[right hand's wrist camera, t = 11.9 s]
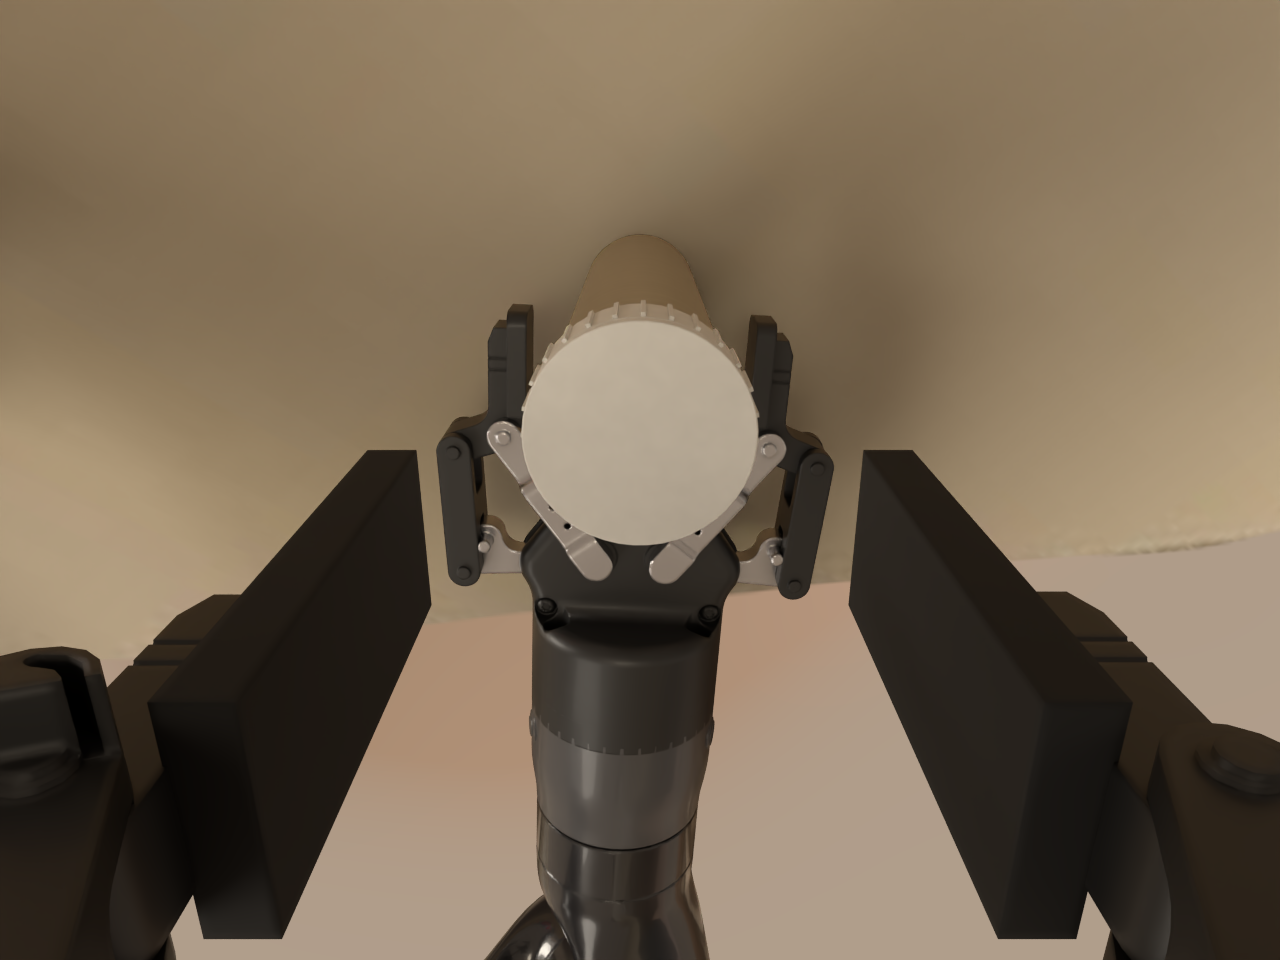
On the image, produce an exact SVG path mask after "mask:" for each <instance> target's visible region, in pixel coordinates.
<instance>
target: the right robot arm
mask: <svg viewBox="0 0 1280 960" xmlns="http://www.w3.org/2000/svg"><path fill="white" fill-rule="evenodd" d="M430 607H431V595H430V585H429V575H428V564H427V554H426V544H425V533H424V523H423V513H422V502H421V492H420V482H419V471H418V461H417V451H416V450H367V451H366V453H365V454H364V455H363V456H362V457H361V458H360V459H359V461H358V462H357V463H356V464H355V465H354V466H353V467H352V469H351V470H350V471H349V472H348V473H347V474H346V475H345V477H344V478H343V479H342V480H341V481H340V482H339V483H338V485H337V486H336V487H335V488H334V489H333V490H332V491H331V493H330V494H329V495H328V496H327V497H326V498H325V499H324V501H323V502H322V503H321V504H320V505H319V506H318V507H317V509H316V510H315V511H314V512H313V513H312V514H311V515H310V517H309V518H308V519H307V520H306V521H305V522H304V523H303V525H302V526H301V527H300V528H299V529H298V530H297V531H296V533H295V534H294V535H293V536H292V537H291V538H290V539H289V541H288V542H287V543H286V544H285V545H284V546H283V547H282V549H281V550H280V551H279V552H278V553H277V554H276V555H275V557H274V558H273V559H272V560H271V561H270V562H269V563H268V565H267V566H266V567H265V568H264V569H263V570H262V571H261V573H260V574H259V575H258V576H257V577H256V578H255V579H254V581H253V582H252V583H251V584H250V585H249V586H248V587H247V589H246V590H245V591H244V592H243V593H242V594H241V595H212V596H211V597H209V598H207V599H205V600H204V601H202V602H200V603H198V604H197V605H195V606H193V607H191V608H190V609H188V610H186V611H184V612H182V613H181V614H179V615H177V616H176V617H175V618H174V619H173V620H172V621H171V622H170V623H169V624H168V625H167V626H166V628H165V629H164V630H163V631H162V632H161V633H160V634H159V635H158V636H157V637H156V638H155V639H154V640H153V641H154V643H153V645H148V646H147V647H146V648H145V649H144V650H143V651H142V652H141V653H140V654H139V655H138V656H137V657H136V658H135V659H134V664H133V666H128V667H127V668H126V669H125V670H124V671H123V672H122V673H121V674H120V675H119V676H118V677H117V678H116V679H115V680H114V681H113V682H112V683H111V684H110V685H109V686H108V687H107V686H106V682H105V678H104V674H103V670H102V666H101V663H100V659H98V658H97V657H95V656H94V655H93V654H91V653H90V652H88V651H87V650H82V649H76V648H69V647H62V646H61V647H48V648H36V649H28V650H24V651H20V652H16V653H11V654H7V655H3V656H0V960H176V955H175V950H174V946H173V942H172V938H171V934H170V932H171V931H172V929H173V927H174V926H175V924H176V922H177V920H178V919H179V917H180V915H181V914H182V912H183V910H184V909H185V907H186V905H187V904H188V902H189V900H190V899H191V897H192V895H193V896H194V900H195V905H196V909H197V913H198V917H199V921H200V925H201V929H202V934H203V938H204V939H282V938H283V935H284V933H285V931H286V929H287V926H288V924H289V922H290V920H291V917H292V915H293V913H294V911H295V909H296V906H297V904H298V902H299V900H300V897H301V895H302V893H303V891H304V888H305V886H306V884H307V882H308V880H309V877H310V875H311V873H312V871H313V868H314V866H315V864H316V862H317V859H318V857H319V855H320V853H321V850H322V848H323V846H324V844H325V841H326V839H327V837H328V835H329V833H330V830H331V828H332V826H333V824H334V821H335V819H336V817H337V815H338V813H339V810H340V808H341V806H342V804H343V801H344V799H345V797H346V795H347V792H348V790H349V788H350V786H351V784H352V781H353V779H354V777H355V775H356V772H357V770H358V768H359V766H360V763H361V761H362V759H363V757H364V754H365V752H366V750H367V748H368V745H369V743H370V741H371V739H372V737H373V734H374V732H375V730H376V728H377V725H378V723H379V721H380V719H381V717H382V714H383V712H384V710H385V707H386V705H387V703H388V701H389V699H390V696H391V694H392V692H393V690H394V687H395V685H396V683H397V681H398V679H399V676H400V674H401V672H402V670H403V667H404V665H405V663H406V661H407V658H408V656H409V654H410V652H411V649H412V647H413V645H414V643H415V640H416V638H417V636H418V634H419V632H420V629H421V627H422V625H423V623H424V620H425V618H426V616H427V614H428V612H429V609H430ZM849 607H850V609H851V612H852V614H853V616H854V618H855V620H856V623H857V625H858V627H859V629H860V632H861V634H862V636H863V638H864V641H865V643H866V645H867V647H868V649H869V652H870V654H871V656H872V658H873V661H874V663H875V665H876V667H877V670H878V672H879V674H880V676H881V679H882V681H883V683H884V685H885V687H886V690H887V692H888V694H889V696H890V699H891V701H892V703H893V705H894V707H895V710H896V712H897V714H898V716H899V719H900V721H901V723H902V725H903V728H904V730H905V732H906V734H907V737H908V739H909V741H910V743H911V745H912V748H913V750H914V752H915V754H916V757H917V759H918V761H919V763H920V766H921V768H922V770H923V772H924V775H925V777H926V779H927V781H928V783H929V786H930V788H931V790H932V792H933V795H934V797H935V799H936V801H937V804H938V806H939V808H940V810H941V813H942V815H943V817H944V819H945V821H946V824H947V826H948V828H949V830H950V833H951V835H952V837H953V839H954V841H955V844H956V846H957V848H958V850H959V853H960V855H961V857H962V859H963V862H964V864H965V866H966V868H967V871H968V873H969V875H970V877H971V879H972V882H973V884H974V886H975V888H976V891H977V893H978V895H979V897H980V900H981V902H982V904H983V906H984V908H985V911H986V913H987V915H988V917H989V920H990V922H991V924H992V926H993V929H994V931H995V933H996V935H997V938H998V939H1076V938H1077V934H1078V930H1079V925H1080V921H1081V917H1082V913H1083V909H1084V904H1085V900H1086V896H1087V892H1089V894H1090V896H1091V897H1092V899H1093V901H1094V902H1095V904H1096V906H1097V907H1098V909H1099V911H1100V912H1101V914H1102V916H1103V917H1104V919H1105V921H1106V922H1107V924H1108V926H1109V928H1110V929H1111V930H1110V934H1109V938H1108V942H1107V946H1106V950H1105V954H1104V957H1103V960H1280V742H1277V741H1275V740H1273V739H1271V738H1269V737H1266V736H1264V735H1262V734H1259V733H1255V732H1252V731H1248V730H1245V729H1241V728H1238V727H1234V726H1230V725H1226V724H1214V723H1211V722H1210V721H1209V720H1208V719H1207V718H1206V717H1205V716H1204V715H1203V714H1202V713H1201V712H1200V711H1199V709H1198V708H1197V707H1196V706H1195V705H1194V704H1193V703H1192V702H1191V701H1190V700H1189V699H1188V698H1187V697H1186V696H1185V695H1184V694H1183V693H1182V692H1181V691H1180V690H1179V689H1178V688H1177V687H1176V686H1175V685H1174V684H1173V683H1172V682H1171V681H1170V680H1169V679H1168V678H1167V677H1166V676H1165V675H1164V674H1163V673H1162V672H1161V671H1160V670H1159V669H1158V668H1157V667H1156V666H1155V665H1154V664H1153V663H1152V662H1147V656H1146V655H1145V654H1144V653H1143V652H1142V651H1141V650H1140V649H1139V648H1138V647H1137V646H1136V645H1135V644H1134V643H1133V642H1128V641H1127V636H1126V635H1125V634H1124V633H1123V632H1122V631H1121V630H1120V629H1119V628H1118V627H1117V626H1116V625H1115V624H1114V623H1113V622H1112V621H1111V620H1110V619H1109V618H1108V617H1107V616H1106V615H1105V614H1104V613H1103V612H1102V611H1100V610H1098V609H1096V608H1095V607H1093V606H1091V605H1089V604H1088V603H1086V602H1084V601H1082V600H1080V599H1079V598H1077V597H1075V596H1073V595H1072V594H1070V593H1068V592H1036V591H1035V590H1034V589H1033V587H1032V586H1031V585H1030V584H1029V583H1028V582H1027V581H1026V579H1025V578H1024V577H1023V576H1022V575H1021V574H1020V573H1019V571H1018V570H1017V569H1016V568H1015V567H1014V566H1013V565H1012V563H1011V562H1010V561H1009V560H1008V559H1007V558H1006V557H1005V555H1004V554H1003V553H1002V552H1001V551H1000V550H999V549H998V547H997V546H996V545H995V544H994V543H993V542H992V541H991V539H990V538H989V537H988V536H987V535H986V534H985V533H984V531H983V530H982V529H981V528H980V527H979V526H978V525H977V523H976V522H975V521H974V520H973V519H972V518H971V517H970V515H969V514H968V513H967V512H966V511H965V510H964V509H963V507H962V506H961V505H960V504H959V503H958V502H957V501H956V499H955V498H954V497H953V496H952V495H951V494H950V493H949V491H948V490H947V489H946V488H945V487H944V486H943V485H942V483H941V482H940V481H939V480H938V479H937V478H936V477H935V475H934V474H933V473H932V472H931V471H930V470H929V469H928V467H927V466H926V465H925V464H924V463H923V462H922V461H921V459H920V458H919V457H918V456H917V455H916V454H915V453H914V451H913V450H864V451H863V461H862V471H861V482H860V492H859V502H858V513H857V523H856V533H855V544H854V554H853V564H852V575H851V585H850V596H849Z"/></svg>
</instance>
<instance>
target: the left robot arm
mask: <svg viewBox="0 0 1280 960" xmlns="http://www.w3.org/2000/svg"><path fill="white" fill-rule="evenodd" d="M533 320H534V313H533V305H523V304H513V305H512V306H511V308H510V309H509V310H508V313H507V320H499V321H498V322H497V324H496V325H495V326H494V328H493V330H492V332H491V335H490V337H489V340H488V405H489V406H488V410H487V411H486V412H484V413H482V414H480V415H476V416H473V417H470V418H469V417H459V418H457V419H455V420H454V421H453V422H452V424H451V425H450V427H449V428H448V430H447V431H446V433H445V435H444V436H443V438H442V439H441V441H440V442H439V444H438V446H437V450H436V453H437V463H438V473H439V483H440V494H441V504H442V514H443V524H444V534H445V544H446V555H447V565H448V574H449V577H450V578H451V580H452V581H453V582H454V583H456V584H458V585H461V586H470V585H473V584H474V583H476V582H477V581H478V579H479V577H480V574H481V573H522V574H523V576H524V578H525V579H526V581H527V582H528V584H529V586H530V589H531V592H532V597H533V644H532V709H531V713H530V716H529V728H530V734H531V736H532V757H533V765H534V771H535V776H536V783H537V867H538V875H539V880H540V885H541V888H542V890H543V893H544V895H542V896H541V897H539V898H538V899H537V900H536V901H535V902H534V903H533V904H531V905H530V906H529V907H528V908H527V909H526V910H525V911H524V912H523V913H522V914H521V916H520V917H519V918H518V919H517V920H516V921H515V922H514V924H513V925H512V926H511V927H510V929H509V930H508V931H507V932H506V933H505V935H504V936H503V937H502V938H501V940H500V941H499V942H498V943H497V945H496V946H495V947H494V948H493V950H492V951H491V952H490V953H489V955H488V956H487V957H486V958H485V960H710V959H709V953H708V947H707V942H706V936H705V931H704V925H703V920H702V914H701V909H700V904H699V900H698V896H697V892H696V889H695V885H694V881H693V877H692V871H691V867H692V860H693V849H694V839H695V829H696V818H697V808H698V800H699V793H700V789H701V786H702V782H703V779H704V775H705V771H706V766H707V762H708V755H709V747H710V745H711V742H712V738H713V732H714V720H713V717H712V716H713V705H714V695H715V684H716V674H717V664H718V654H719V643H720V633H721V623H722V612H723V606H724V602H725V600H726V598H727V596H728V594H729V592H730V591H731V590H732V588H733V587H734V586H735V584H736V583H737V582H739V583H749V584H759V585H769V586H777V587H778V589H779V592H780V593H781V595H782V596H784V597H785V598H787V599H792V600H793V599H799V598H801V597H803V596H804V595H806V594H807V592H808V590H809V588H810V583H811V578H812V574H813V569H814V564H815V559H816V554H817V549H818V544H819V539H820V534H821V530H822V525H823V520H824V515H825V510H826V505H827V500H828V495H829V490H830V486H831V481H832V476H833V471H834V464H833V461H832V459H831V458H830V456H829V455H828V454H827V453H826V452H825V450H824V449H823V446H822V443H821V442H820V440H819V438H818V437H817V436H816V435H814V434H813V433H809V432H803V433H802V432H799V431H797V430H795V429H792V428H790V427H788V426H787V425H786V413H787V404H788V395H789V387H790V378H791V369H792V361H793V354H792V350H791V347H790V343H789V341H788V339H787V338H786V337H785V335H784V334H783V333H777V324H776V322H775V321H774V319H773V318H772V317H771V316H760V315H751V318H750V323H749V332H748V343H747V353H746V364H745V372H746V374H747V376H748V378H749V380H750V383H751V385H752V387H753V390H754V391H753V392H750V393H751V395H752V398H753V400H754V403H755V405H756V407H757V410H758V412H759V417H758V418H757V419H758V438H759V442H758V447H757V452H756V458H755V461H754V464H753V467H752V471H751V473H750V475H749V478H748V480H747V482H746V484H745V486H744V487H743V489H742V490H741V492H740V494H739V495H738V497H737V498H736V499H735V500H734V502H733V503H732V504H731V505H730V506H729V507H728V509H727V510H726V511H724V512H723V513H722V514H721V515H720V516H719V517H718V518H717V519H715V520H714V521H713V522H711V523H710V524H708V525H707V526H705V527H704V528H702V529H700V530H698V531H697V532H695V533H693V534H691V535H688V536H686V537H683V538H680V539H678V540H674V541H670V542H666V543H661V544H653V545H627V544H618V543H614V542H610V541H606V540H602V539H600V538H597V537H594V536H592V535H589V534H587V533H585V532H584V531H582V530H580V529H578V528H576V527H575V526H573V525H572V524H570V523H569V522H567V521H566V520H565V519H563V518H562V517H561V516H560V515H559V514H558V513H557V512H555V511H554V510H553V508H552V507H551V506H550V505H549V504H548V503H547V502H546V501H545V499H544V498H543V496H542V495H541V493H540V492H539V491H538V489H537V488H536V486H535V484H534V482H533V480H532V478H531V476H530V473H529V470H528V467H527V464H526V462H525V457H524V452H523V447H522V437H521V431H522V419H523V413H524V411H522V406H523V403H524V401H525V399H526V396H527V394H528V392H529V390H530V389H531V387H532V386H530V385H529V382H530V380H531V378H532V375H533ZM494 453H496V455H497V456H498V457H499V459H500V460H501V461H502V462H503V464H504V465H505V466H506V467H507V469H508V470H509V471H510V472H511V474H512V475H513V476H514V478H515V479H516V480H517V482H518V484H519V486H520V490H521V492H522V494H523V496H524V497H525V499H526V500H527V501H528V503H529V504H530V505H531V506H532V508H533V509H534V510H535V511H536V513H537V514H538V515H539V517H540V518H541V519H540V520H539V521H538V522H537V524H536V525H535V526H534V527H533V528H532V530H531V531H530V532H529V533H528V535H527V536H526V538H525V540H524V542H519V541H516V540H514V539H512V538H511V537H510V536H509V535H508V533H507V531H506V528H505V524H504V523H503V521H502V520H501V519H500V518H498V517H496V516H493V515H488V512H487V500H486V487H485V474H484V461H483V457H484V456H487V455H490V454H494ZM776 466H778V467H780V468H783V469H785V474H784V480H783V485H782V491H781V496H780V502H779V507H778V512H777V518H776V523H775V528H768V529H765V530H763V531H762V532H761V533H760V534H759V535H758V536H757V539H756V542H755V544H754V545H753V546H752V547H751V548H750V549H748V550H746V551H737V549H736V547H735V545H734V543H733V541H732V540H731V538H730V537H729V535H728V534H727V532H726V531H725V529H724V527H725V526H726V525H727V524H728V523H729V522H730V521H731V520H732V519H733V518H734V516H735V515H736V514H737V513H738V512H739V511H740V510H741V509H742V508H743V507H744V505H745V504H746V502H747V500H748V498H749V495H750V493H751V492H752V491H753V490H754V489H755V488H756V487H757V485H758V484H759V483H760V482H761V481H762V480H763V479H764V478H765V477H766V476H767V475H768V474H769V473H770V472H771V471H772V470H773V469H774V468H775V467H776Z"/></svg>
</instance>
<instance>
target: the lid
mask: <svg viewBox="0 0 1280 960" xmlns="http://www.w3.org/2000/svg"><path fill="white" fill-rule="evenodd" d="M542 361H543V363H542V365H541V366H540V365H537V367H536V369H535V371H534V373H533V375H532V378H531V380H530V382H529V385H530V386H532V387H531V389H530V390H529V392H528V394H527V396H526V399H525V401H524V403H523V406H522V411H524V413H523V419H522V431H521V437H522V447H523V452H524V457H525V462H526V464H527V467H528V470H529V473H530V476H531V478H532V480H533V482H534V484H535V486H536V488H537V489H538V491H539V492H540V493H541V495H542V496H543V498H544V499H545V501H546V502H547V503H548V504H549V505H550V506H551V507H552V508H553V510H554V511H555V512H557V513H558V514H559V515H560V516H561V517H562V518H563V519H565V520H566V521H567V522H569V523H570V524H572V525H573V526H575V527H576V528H578V529H580V530H582V531H584V532H585V533H587V534H589V535H592V536H594V537H597V538H600V539H602V540H606V541H610V542H614V543H618V544H627V545H653V544H661V543H666V542H670V541H674V540H678V539H680V538H683V537H686V536H688V535H691V534H693V533H695V532H697V531H698V530H700V529H702V528H704V527H705V526H707V525H708V524H710V523H711V522H713V521H714V520H715V519H717V518H718V517H719V516H720V515H721V514H722V513H723V512H724V511H726V510H727V509H728V507H729V506H730V505H731V504H732V503H733V502H734V500H735V499H736V498H737V497H738V495H739V494H740V492H741V490H742V489H743V487H744V486H745V484H746V482H747V480H748V478H749V475H750V473H751V471H752V467H753V464H754V461H755V458H756V452H757V447H758V442H759V438H758V419H757V418H758V417H759V412H758V410H757V407H756V405H755V403H754V400H753V398H752V395H751V393H750V392H753V391H754V390H753V387H752V385H751V383H750V380H749V378H748V376H747V374H746V372H745V370H744V371H741V369H740V367H742V365H741V363H740V361H739V359H738V356H737V354H736V352H735V350H734V349H733V348H731V349H729V348H728V347H727V345H726V344H725V343H724V341H723V340H722V339H721V336H720V334H719V331H718V330H717V329H716V328H715V329H714V330H711V329H710V328H709V327H708V326H706V325H705V324H704V323H702V322H701V321H699V319H698V316H697V315H696V314H694V313H693V314H692V316H690V315H688V314H686V313H684V312H681V311H679V310H676V309H673V305H672V304H668V305H667V307H665V306H661V305H653V304H646V300H641V304H627V305H619V302H616V303H614V307H611V308H607V309H604V310H601V311H599V312H597V313H594V311H593V310H592V311H590V312H589V313H588V316H587V317H586V318H584V319H583V320H581V321H579V322H578V323H576V324H575V325H574V326H571V324H569V325H568V326H567V327H566V329H565V332H564V334H563V335H562V336H561V337H560V338H559V339H558V340H557V341H556V343H555V344H553V343H552V342H551V343H550V344H549V346H548V348H547V350H546V353H545V355H544V357H543V359H542Z"/></svg>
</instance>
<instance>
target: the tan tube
mask: <svg viewBox="0 0 1280 960" xmlns="http://www.w3.org/2000/svg"><path fill="white" fill-rule="evenodd" d="M641 300H646V304H653V305H661V306H665V307H667V305H668V304H672V305H673V309H676V310H679V311H681V312H684V313H686V314H688V315H690V316H692V314H693V313H694V314H696V315H697V316H698V319H699V321H701V322H702V323H704V324H705V325H706V326H708V327H709V328H710V329H711V330H713V328H712V325H711V322H710V320H709V317H708V315H707V312H706V309H705V307H704V304H703V302H702V299H701V296H700V294H699V291H698V289H697V286H696V283H695V281H694V278H693V276H692V273H691V270H690V268H689V265H688V264H687V262H686V260H685V258H684V257H683V256H682V254H681V253H680V252H679V251H678V250H677V249H676V248H675V247H673V246H672V245H671V244H670V243H668V242H666V241H664V240H662V239H660V238H657V237H654V236H650V235H630V236H626V237H623V238H620V239H618V240H616V241H614V242H612V243H611V244H609V245H608V246H607V247H605V248H604V249H603V250H602V251H601V252H600V253H599V254H598V256H597V257H596V258H595V260H594V262H593V264H592V265H591V268H590V270H589V273H588V276H587V278H586V281H585V283H584V286H583V289H582V291H581V294H580V296H579V299H578V302H577V304H576V307H575V309H574V312H573V315H572V317H571V320H570V322H569V324H571V326H574V325H575V324H576V323H578V322H579V321H581V320H583V319H584V318H586V317H587V316H588V313H589V312H590V311H592V310H593V311H594V313H597V312H599V311H601V310H604V309H607V308H611V307H614V303H616V302H619V305H627V304H641Z"/></svg>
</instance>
